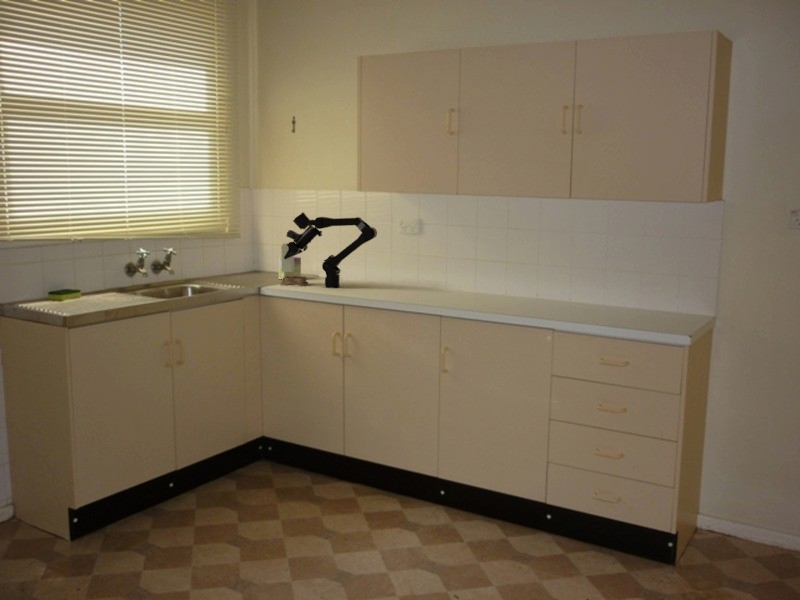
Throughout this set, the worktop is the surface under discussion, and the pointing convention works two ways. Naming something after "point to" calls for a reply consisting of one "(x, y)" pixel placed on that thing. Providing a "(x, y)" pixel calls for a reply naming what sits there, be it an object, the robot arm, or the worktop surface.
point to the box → (296, 268)
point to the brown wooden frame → (294, 280)
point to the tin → (287, 260)
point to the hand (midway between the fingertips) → (286, 258)
